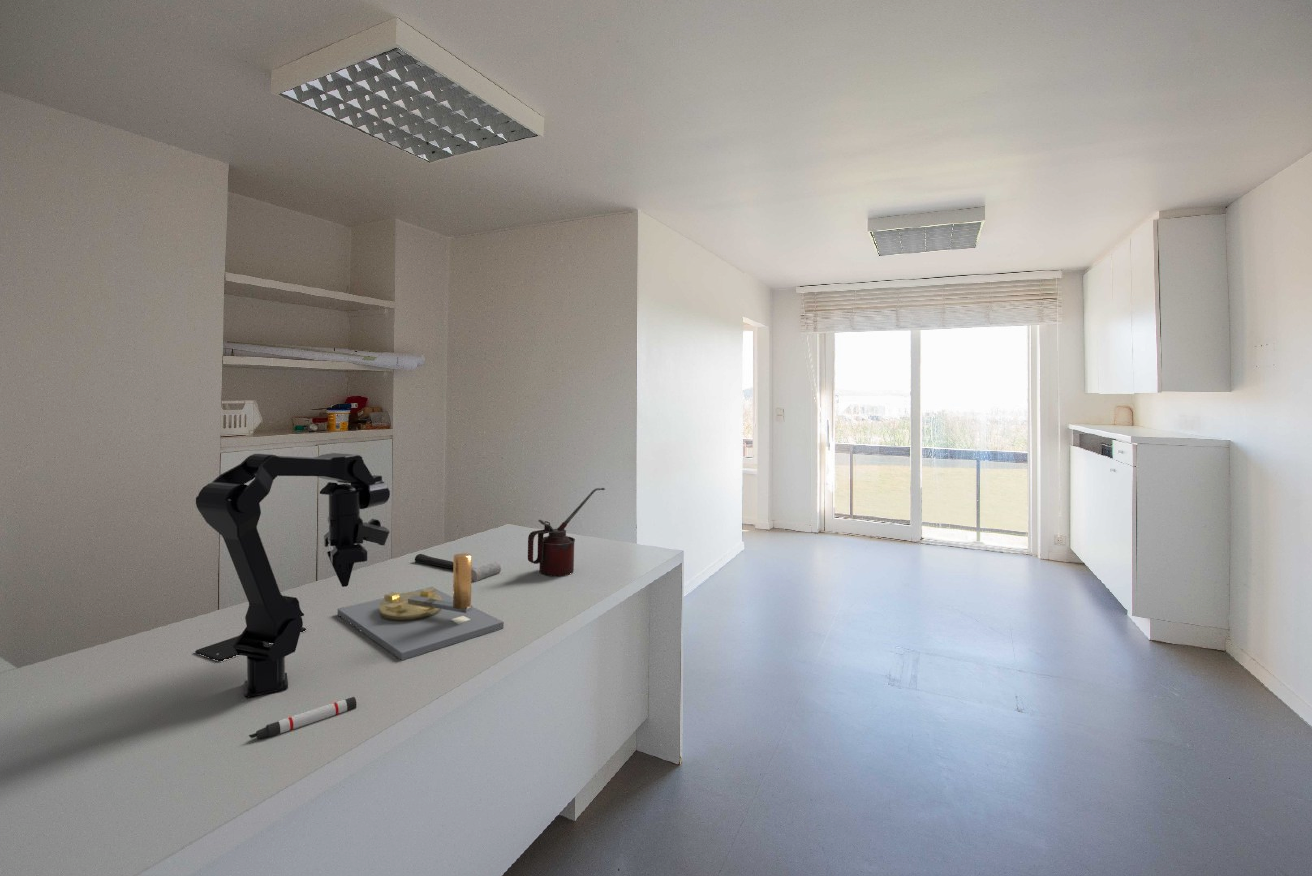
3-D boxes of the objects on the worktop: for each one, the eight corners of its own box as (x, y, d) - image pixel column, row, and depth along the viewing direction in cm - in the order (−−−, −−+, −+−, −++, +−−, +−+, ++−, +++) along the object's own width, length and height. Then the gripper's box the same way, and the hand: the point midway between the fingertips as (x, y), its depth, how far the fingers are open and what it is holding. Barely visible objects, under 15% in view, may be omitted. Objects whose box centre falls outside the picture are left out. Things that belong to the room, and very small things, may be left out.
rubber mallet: (431, 549, 191) (500, 562, 178) (431, 560, 192) (500, 574, 178) (406, 556, 183) (477, 570, 169) (406, 567, 183) (477, 583, 169)
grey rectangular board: (337, 614, 141) (337, 607, 141) (431, 592, 159) (431, 586, 159) (402, 660, 119) (402, 652, 118) (503, 628, 136) (503, 620, 136)
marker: (352, 705, 102) (352, 694, 101) (356, 710, 100) (356, 698, 100) (247, 740, 90) (247, 728, 90) (250, 746, 89) (250, 733, 89)
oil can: (539, 581, 171) (541, 497, 169) (520, 572, 179) (521, 492, 177) (613, 565, 190) (615, 489, 189) (593, 557, 198) (595, 485, 196)
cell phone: (307, 632, 131) (307, 628, 131) (220, 664, 115) (220, 659, 115) (281, 624, 135) (281, 620, 135) (193, 655, 119) (193, 650, 118)
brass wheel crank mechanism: (365, 614, 137) (365, 552, 136) (408, 596, 150) (408, 539, 149) (449, 630, 129) (450, 564, 128) (486, 609, 143) (487, 549, 142)
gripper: (394, 518, 119) (394, 593, 120) (378, 502, 134) (378, 569, 135) (332, 523, 113) (333, 602, 114) (323, 506, 128) (323, 576, 129)
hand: (344, 586), depth 123 cm, fingers closed
